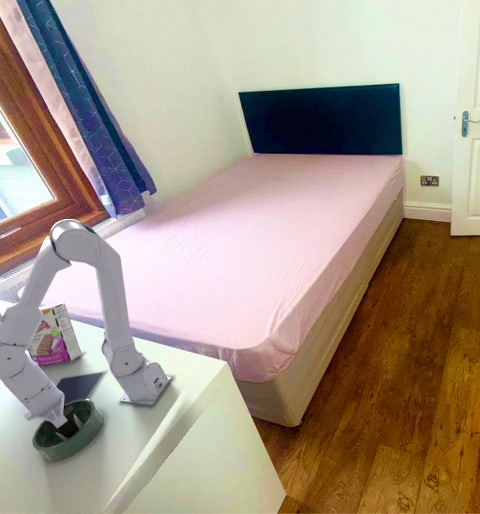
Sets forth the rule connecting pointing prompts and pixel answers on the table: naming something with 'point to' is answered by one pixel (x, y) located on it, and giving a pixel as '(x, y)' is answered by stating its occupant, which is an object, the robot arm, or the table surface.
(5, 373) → the robot arm
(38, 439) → the bowl
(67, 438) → the cream jar
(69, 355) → the candy bar box
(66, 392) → the napkin
